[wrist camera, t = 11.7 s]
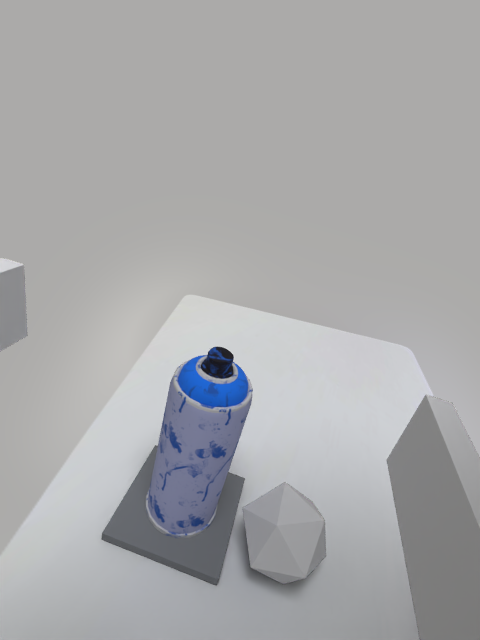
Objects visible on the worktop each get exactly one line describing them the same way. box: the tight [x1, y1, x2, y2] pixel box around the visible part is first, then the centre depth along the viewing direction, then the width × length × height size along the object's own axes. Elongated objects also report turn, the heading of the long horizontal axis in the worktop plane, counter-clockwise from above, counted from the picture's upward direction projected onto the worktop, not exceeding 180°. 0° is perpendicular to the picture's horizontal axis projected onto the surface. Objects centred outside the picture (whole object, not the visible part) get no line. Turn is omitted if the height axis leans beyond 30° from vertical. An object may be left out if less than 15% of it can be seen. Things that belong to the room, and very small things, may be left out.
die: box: [243, 482, 326, 584], centre depth 36 cm, size 8×9×10 cm
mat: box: [102, 445, 245, 585], centre depth 40 cm, size 12×12×1 cm
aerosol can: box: [146, 347, 253, 538], centre depth 35 cm, size 8×8×20 cm
